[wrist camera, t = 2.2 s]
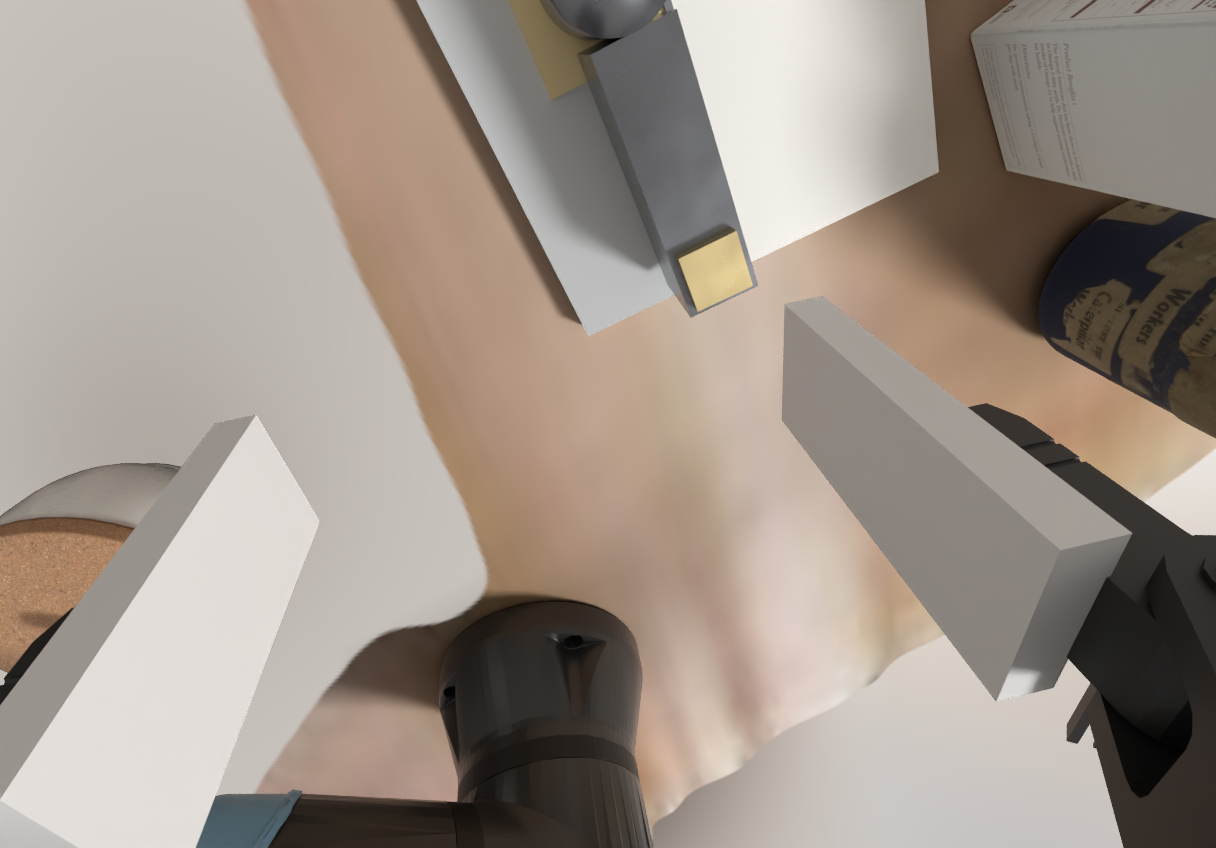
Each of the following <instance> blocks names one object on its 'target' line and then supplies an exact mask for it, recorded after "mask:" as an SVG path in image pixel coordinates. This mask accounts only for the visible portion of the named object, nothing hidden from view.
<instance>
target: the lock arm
mask: <svg viewBox="0 0 1216 848" xmlns="http://www.w3.org/2000/svg"><path fill="white" fill-rule="evenodd" d="M665 1H666V0H540V2H541V4H542V6H543V8H544V10H545V12H546V13H547V15H548V16H549V18H550V19H551V20H552V21H553V22H554V23H555V24H556V25H557V26H558V27H559V28H560V29H561V30H563V31H564V32H565V33H567V34H569V35H571V36H573V37H576V38H578V39H583V40H601V39H604V40H602V41H600V42H598V43H596V44H595V45H593V46H591V47H589V48H587V49H585V50H583V51H582V52H580V53H578V54H577V57H578V59H579V62H580V64H581V67H582V70H583V72H584V75H585V77H586V80H587V82H588V85H589V87H590V90H591V92H592V95H593V97H594V100H595V102H596V105H597V108H598V110H599V113H600V115H601V118H602V120H603V123H604V125H605V128H606V130H607V133H608V135H609V138H610V140H611V143H612V146H613V148H614V151H615V153H616V156H617V158H618V161H619V163H620V166H621V168H622V171H623V173H624V176H625V178H626V181H627V184H628V186H629V189H630V191H631V194H632V196H633V199H634V201H635V204H636V206H637V209H638V211H639V214H640V216H641V219H642V222H643V224H644V227H645V229H646V232H647V234H648V237H649V239H650V242H651V244H652V247H653V249H654V252H655V254H656V257H657V260H658V262H659V265H660V267H661V270H662V272H663V275H664V277H665V280H666V282H667V285H668V286H669V288H670V289H671V290H672V292H673V293H674V295H675V296H676V297H677V299H678V300H679V302H680V303H681V304H682V306H683V307H684V309H685V310H686V311H687V313H688V314H689V316H690V317H693V316H695V315H697V314H699V313H701V312H704V311H706V310H708V309H710V308H712V307H714V306H716V305H718V304H720V303H723V302H725V301H727V300H729V299H731V298H733V297H735V296H737V295H739V294H742V293H744V292H746V291H748V290H750V289H752V288H754V287H756V286H758V283H757V280H756V276H755V273H754V270H753V266H752V263H751V259H750V256H749V253H748V249H747V246H746V242H745V239H744V236H743V232H742V229H741V225H740V222H739V219H738V215H737V212H736V208H735V205H734V202H733V198H732V195H731V191H730V188H729V185H728V181H727V178H726V174H725V171H724V168H723V164H722V161H721V157H720V154H719V151H718V147H717V144H716V140H715V137H714V134H713V130H712V127H711V123H710V120H709V117H708V113H707V110H706V106H705V103H704V100H703V96H702V93H701V89H700V86H699V83H698V79H697V76H696V72H695V69H694V66H693V62H692V59H691V55H690V52H689V49H688V45H687V42H686V38H685V35H684V32H683V28H682V25H681V21H680V18H679V15H678V11H677V9H674V10H670V11H666V12H661V13H658V12H659V11H660V10H661V8H662V7H663V5H664V3H665Z"/></svg>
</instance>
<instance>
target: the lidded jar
mask: <svg viewBox="0 0 1216 848" xmlns="http://www.w3.org/2000/svg"><path fill="white" fill-rule="evenodd" d="M180 469H181V467H179V466H174V465H169V464H159V463H158V464H157V463H154V464H153V463H152V464H151V463H150V464H149V463H148V464H139V463H125V464H123V463H121V464H114V465H106V466H101V467H95V468H91V469H87V470H83V471H80V472H77V473H74V474H71V475H68V476H65V477H64V478H61V479H59V480H56V481H54V482H52V483H50V484H48V485H46V486H45V487H43V488H41V489H39V490H37V491H35V492H34V493H32V494H31V495H30V496H28V497H27V498H25V499H24V500H22V501H21V502H19V503H18V504H16V505H15V506H14V507H12V508H11V509H9V510H8V511H7V512H5V513H4V514H2V515H1V516H0V670H3V671H5V672H7V673H9V671H10V670H11V669H12V668H13V666H14V665H15V664H16V663H17V661H18V660H19V659H20V657H21V656H22V655H23V654H24V652H25V651H26V650H27V649H28V647H29V646H30V645H31V643H32V642H33V641H34V640H36V639H37V638H38V637H39V636H40V635H41V634H42V633H44V632H45V631H46V630H47V629H48V628H49V627H50V626H52V625H53V624H54V623H55V622H56V621H57V620H58V619H60V618H61V617H62V616H63V615H64V614H65V613H66V612H68V611H69V610H70V609H71V608H74V607H75V606H76V605H77V604H78V603H79V601H80V600H81V599H82V597H83V596H84V595H85V593H86V592H87V591H88V589H89V588H90V587H91V585H92V584H93V583H94V581H95V580H96V579H97V578H98V576H99V575H100V574H101V572H102V571H103V570H104V568H105V567H106V566H107V564H108V563H109V562H110V560H111V559H112V558H113V557H114V555H115V554H116V553H117V551H118V550H119V549H120V547H121V546H122V545H123V543H124V542H125V541H126V539H127V538H128V537H129V536H130V534H131V533H132V532H133V530H134V529H135V528H136V526H137V525H138V524H139V522H140V521H141V520H142V518H143V517H144V516H145V514H146V513H147V512H148V511H149V509H150V508H151V507H152V505H153V504H154V503H155V501H156V500H157V499H158V497H159V496H160V495H161V493H162V492H163V491H164V490H165V488H166V487H167V486H168V484H169V483H170V482H171V480H172V479H173V478H174V476H175V475H176V474H177V472H178V471H179V470H180Z"/></svg>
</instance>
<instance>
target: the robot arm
mask: <svg viewBox="0 0 1216 848" xmlns="http://www.w3.org/2000/svg"><path fill="white" fill-rule="evenodd" d="M782 421H783V422H784V424H785V425H786V426H787V428H788V429H789V430H790V431H791V433H792V434H793V435H794V437H795V438H796V439H797V441H798V442H799V443H800V445H801V446H802V447H803V449H804V450H805V451H806V452H807V454H808V455H809V456H810V458H811V459H812V460H813V462H814V463H815V464H816V466H817V467H818V468H819V470H820V471H821V472H822V473H823V475H824V476H825V477H826V479H827V480H828V481H829V483H830V484H831V485H832V487H833V488H834V489H835V491H836V492H837V493H838V495H839V496H840V497H841V498H842V500H843V501H844V502H845V504H846V505H847V506H848V508H849V509H850V510H851V512H852V513H853V514H854V516H855V517H856V518H857V519H858V521H859V522H860V523H861V525H862V526H863V527H864V529H865V530H866V531H867V533H868V534H869V535H870V537H871V538H872V539H873V540H874V542H875V543H876V544H877V546H878V547H879V548H880V550H881V551H882V552H883V554H884V555H885V556H886V558H887V559H888V560H889V561H890V563H891V564H892V565H893V567H894V568H895V569H896V571H897V572H898V573H899V575H900V576H901V577H902V579H903V580H904V581H905V583H906V584H907V585H908V586H909V588H910V589H911V590H912V592H913V593H914V594H915V596H916V597H917V598H918V600H919V601H920V602H921V604H922V605H923V606H924V607H925V609H926V610H927V611H928V613H929V614H930V615H931V617H932V618H933V619H934V621H935V622H936V623H937V625H938V626H939V627H940V628H941V630H942V631H943V632H944V634H945V635H946V636H947V637H948V639H949V640H950V641H951V643H952V644H953V646H954V647H955V648H956V649H957V651H958V652H959V653H960V655H961V656H962V657H963V659H964V660H965V661H966V663H967V664H968V665H969V666H970V668H971V669H972V670H973V672H974V673H975V674H976V675H977V677H978V678H979V680H980V681H981V682H982V684H983V685H984V686H985V687H986V689H987V690H988V691H989V693H990V694H991V695H992V697H993V698H994V699H995V701H996V702H998V701H1002V700H1006V699H1010V698H1014V697H1018V696H1022V695H1026V694H1030V693H1034V692H1038V691H1042V690H1046V689H1050V688H1053V687H1054V686H1055V684H1056V682H1057V680H1058V678H1059V676H1060V674H1061V672H1062V670H1063V668H1064V666H1065V664H1066V662H1067V660H1068V659H1069V660H1070V661H1071V662H1072V663H1073V664H1074V665H1075V666H1076V668H1077V669H1078V670H1079V671H1080V672H1081V673H1082V674H1083V675H1084V676H1085V677H1086V678H1087V679H1088V680H1089V681H1090V685H1089V687H1088V688H1087V690H1086V692H1085V694H1084V696H1083V697H1082V699H1081V701H1080V702H1079V704H1078V706H1077V708H1076V710H1075V711H1074V713H1073V715H1072V716H1071V718H1070V720H1069V722H1068V723H1067V741H1068V742H1073V743H1078V742H1079V741H1080V739H1081V737H1082V736H1083V734H1084V732H1085V731H1086V729H1087V727H1088V726H1089V724H1090V726H1091V730H1092V733H1093V737H1094V743H1093V747H1094V748H1097V752H1098V755H1099V759H1100V762H1101V766H1102V770H1103V774H1104V777H1105V781H1106V785H1107V788H1108V792H1109V796H1110V799H1111V803H1112V807H1113V810H1114V814H1115V818H1116V821H1117V825H1118V828H1119V832H1120V836H1121V840H1122V843H1123V847H1124V848H1216V535H1215V536H1214V535H1194V536H1192V535H1190V534H1189V533H1187V532H1185V531H1184V530H1182V529H1181V528H1179V527H1178V526H1177V525H1175V524H1174V523H1172V522H1171V521H1169V520H1168V519H1166V518H1165V517H1164V516H1162V515H1161V514H1160V513H1158V512H1157V511H1155V510H1154V509H1152V508H1151V507H1150V506H1148V505H1147V504H1145V503H1144V502H1143V501H1141V500H1140V499H1138V498H1137V497H1135V496H1134V495H1133V494H1131V493H1130V492H1128V491H1127V490H1126V489H1124V488H1123V487H1121V486H1120V485H1118V484H1117V483H1116V482H1114V481H1113V480H1111V479H1110V478H1108V477H1107V476H1106V475H1104V474H1103V473H1101V472H1100V471H1099V470H1097V469H1096V468H1094V467H1093V466H1091V465H1090V464H1089V463H1087V462H1081V461H1080V460H1079V456H1077V455H1076V454H1074V453H1073V452H1071V451H1070V450H1069V449H1067V448H1066V447H1064V446H1063V445H1062V444H1055V443H1054V439H1053V438H1052V437H1050V436H1049V435H1047V434H1046V433H1044V432H1043V431H1042V430H1040V429H1039V428H1037V427H1036V426H1035V425H1033V424H1032V423H1030V422H1029V421H1027V420H1026V419H1025V418H1022V417H1020V416H1017V415H1015V414H1012V413H1010V412H1007V411H1005V410H1002V409H1000V408H997V407H994V406H992V405H989V404H987V403H985V404H981V405H976V406H972V407H967V406H965V405H964V404H963V403H961V402H960V401H959V400H957V399H956V398H955V397H954V396H952V395H951V394H950V393H948V392H947V391H946V390H944V389H943V388H942V387H940V386H939V385H938V384H937V383H935V382H934V381H933V380H931V379H930V378H929V377H927V376H926V375H925V374H923V373H922V372H921V371H920V370H918V369H917V368H916V367H914V366H913V365H912V364H910V363H909V362H908V361H906V360H905V359H904V358H903V357H901V356H900V355H899V354H897V353H896V352H895V351H893V350H892V349H891V348H889V347H888V346H887V345H886V344H884V343H883V342H882V341H880V340H879V339H878V338H876V337H875V336H874V335H872V334H871V333H870V332H869V331H867V330H866V329H865V328H863V327H862V326H861V325H859V324H858V323H857V322H855V321H854V320H853V319H852V318H850V317H849V316H848V315H846V314H845V313H844V312H842V311H841V310H840V309H838V308H837V307H836V306H835V305H833V304H832V303H831V302H829V301H828V300H827V299H825V298H824V297H823V296H821V297H817V298H812V299H807V300H802V301H797V302H793V303H788V304H785V314H784V355H783V395H782ZM319 522H320V521H319V519H318V517H317V516H316V514H315V512H314V511H313V509H312V507H311V506H310V504H309V503H308V501H307V499H306V497H305V496H304V494H303V492H302V490H301V489H300V487H299V486H298V484H297V482H296V481H295V479H294V477H293V476H292V474H291V472H290V470H289V469H288V467H287V465H286V464H285V462H284V460H283V459H282V457H281V455H280V454H279V452H278V450H277V449H276V447H275V445H274V444H273V442H272V440H271V439H270V437H269V436H268V434H267V432H266V430H265V429H264V427H263V425H262V424H261V422H260V420H259V419H258V417H257V415H253V416H248V417H243V418H239V419H234V420H229V421H225V422H220V423H215V424H214V425H213V426H212V428H211V429H210V431H209V432H208V433H207V434H206V436H205V437H204V438H203V440H202V441H201V442H200V444H199V445H198V446H197V447H196V449H195V450H194V451H193V453H192V454H191V456H190V457H189V458H188V460H187V461H186V462H185V463H184V465H183V466H182V467H181V469H180V470H179V471H178V472H177V474H176V475H175V476H174V478H173V479H172V480H171V482H170V483H169V484H168V486H167V487H166V488H165V490H164V491H163V492H162V493H161V495H160V496H159V497H158V499H157V500H156V501H155V503H154V504H153V505H152V507H151V508H150V509H149V511H148V512H147V513H146V514H145V516H144V517H143V518H142V520H141V521H140V522H139V524H138V525H137V526H136V528H135V529H134V530H133V532H132V533H131V534H130V536H129V537H128V538H127V539H126V541H125V542H124V543H123V545H122V546H121V547H120V549H119V550H118V551H117V553H116V554H115V555H114V557H113V558H112V559H111V560H110V562H109V563H108V564H107V566H106V567H105V568H104V570H103V571H102V572H101V574H100V575H99V576H98V578H97V579H96V580H95V581H94V583H93V584H92V585H91V587H90V588H89V589H88V591H87V592H86V593H85V595H84V596H83V597H82V599H81V600H80V601H79V603H78V604H77V605H76V606H75V607H74V608H71V609H70V610H69V611H68V612H66V613H65V614H64V615H63V616H62V617H61V618H60V619H58V620H57V621H56V622H55V623H54V624H53V625H52V626H50V627H49V628H48V629H47V630H46V631H45V632H44V633H42V634H41V635H40V636H39V637H38V638H37V639H36V640H34V641H33V642H32V643H31V645H30V646H29V647H28V649H27V650H26V651H25V652H24V654H23V655H22V656H21V657H20V659H19V660H18V661H17V663H16V664H15V665H14V666H13V668H12V669H11V670H10V671H9V673H8V674H7V675H6V676H5V678H4V680H5V683H4V685H1V686H0V848H653V845H652V840H651V835H650V830H649V825H648V820H647V815H646V809H645V804H644V799H643V794H642V789H641V785H640V780H639V775H638V769H637V764H636V758H635V744H636V735H637V725H638V716H639V707H640V698H641V689H642V666H641V662H640V657H639V653H638V649H637V644H636V641H635V638H634V636H633V634H632V633H631V631H630V630H629V629H628V627H627V626H626V625H625V624H624V623H622V622H621V621H620V620H619V619H617V618H616V617H614V616H613V615H611V614H609V613H607V612H605V611H603V610H600V609H597V608H594V607H591V606H587V605H583V604H577V603H569V602H540V603H532V604H526V605H521V606H516V607H513V608H509V609H506V610H503V611H500V612H497V613H495V614H492V615H490V616H488V617H486V618H484V619H482V620H480V621H478V622H477V623H475V624H473V625H472V626H470V627H469V628H468V629H466V630H465V631H464V632H463V633H461V634H460V635H459V636H458V637H457V638H456V639H455V640H454V641H453V643H452V644H451V645H450V647H449V648H448V650H447V651H446V653H445V655H444V657H443V660H442V664H441V670H440V680H439V691H438V700H439V708H440V712H441V716H442V719H443V723H444V727H445V731H446V734H447V738H448V742H449V746H450V750H451V753H452V757H453V761H454V765H455V769H456V772H457V776H458V800H457V802H446V801H434V800H415V799H395V798H375V797H355V796H335V795H316V794H301V793H302V791H297V790H292V791H290V792H288V793H287V794H225V795H218V796H216V793H217V791H218V788H219V785H220V782H221V780H222V777H223V775H224V772H225V769H226V767H227V764H228V762H229V759H230V756H231V754H232V751H233V748H234V745H235V743H236V741H237V738H238V735H239V733H240V730H241V727H242V725H243V722H244V719H245V717H246V714H247V712H248V709H249V706H250V704H251V701H252V699H253V696H254V693H255V691H256V688H257V685H258V683H259V680H260V678H261V675H262V672H263V669H264V667H265V664H266V662H267V659H268V656H269V654H270V651H271V648H272V646H273V643H274V641H275V638H276V635H277V633H278V630H279V628H280V625H281V622H282V620H283V617H284V614H285V612H286V609H287V607H288V604H289V601H290V599H291V596H292V593H293V591H294V588H295V585H296V583H297V580H298V578H299V575H300V572H301V570H302V567H303V564H304V562H305V559H306V557H307V554H308V551H309V549H310V546H311V544H312V541H313V538H314V536H315V533H316V530H317V528H318V525H319Z"/></svg>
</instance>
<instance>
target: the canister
mask: <svg viewBox="0 0 1216 848" xmlns="http://www.w3.org/2000/svg"><path fill="white" fill-rule="evenodd" d="M1038 317H1039V323H1040V328H1041V331H1042V333H1043V335H1044V337H1045V339H1046V340H1047V342H1048V343H1049V344H1050V345H1051V346H1052V347H1053V348H1054V349H1055V350H1056V351H1058V352H1059V353H1061V354H1063V355H1064V356H1066V357H1068V358H1070V359H1072V360H1073V361H1075V362H1077V363H1079V364H1081V365H1083V366H1085V367H1087V368H1088V369H1090V370H1092V371H1094V372H1096V373H1098V374H1100V375H1102V376H1103V377H1105V378H1107V379H1108V380H1110V381H1112V382H1114V383H1116V384H1118V385H1120V386H1122V387H1123V388H1125V389H1127V390H1129V391H1131V392H1133V393H1135V394H1137V395H1139V396H1140V397H1142V398H1144V399H1146V400H1148V401H1150V402H1152V403H1154V404H1156V405H1157V406H1159V407H1161V408H1163V409H1165V410H1167V411H1169V412H1171V413H1173V414H1174V415H1175V416H1176V417H1177V418H1179V419H1180V420H1182V421H1183V422H1185V423H1187V424H1189V425H1191V426H1193V427H1195V428H1197V429H1199V430H1201V431H1203V432H1204V433H1206V434H1208V435H1210V436H1212V437H1214V438H1216V218H1212V217H1208V216H1204V215H1200V214H1195V213H1191V212H1186V211H1182V210H1177V209H1173V208H1169V207H1164V206H1160V205H1156V204H1151V203H1147V202H1142V201H1138V200H1133V199H1130V200H1128V201H1126V202H1125V203H1123V204H1121V205H1118V206H1117V207H1115V208H1113V209H1111V210H1110V211H1108V212H1107V213H1105V214H1103V215H1102V216H1100V217H1099V218H1097V219H1096V220H1095V221H1093V222H1092V223H1091V224H1090V225H1089V226H1088V227H1086V228H1085V229H1084V230H1083V231H1082V232H1081V233H1080V234H1079V235H1078V236H1077V237H1076V238H1074V240H1073V241H1072V242H1071V243H1070V244H1069V245H1068V247H1067V248H1066V249H1065V250H1064V252H1063V253H1062V254H1061V255H1060V257H1059V258H1058V260H1057V261H1056V263H1055V265H1054V266H1053V268H1052V270H1051V272H1050V274H1049V276H1048V278H1047V280H1046V282H1045V284H1044V287H1043V290H1042V293H1041V297H1040V302H1039V310H1038Z"/></svg>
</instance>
